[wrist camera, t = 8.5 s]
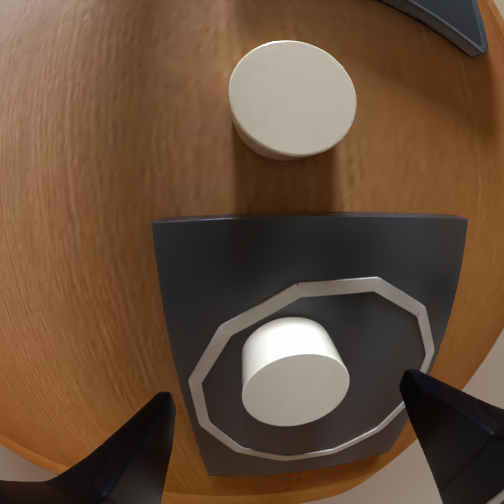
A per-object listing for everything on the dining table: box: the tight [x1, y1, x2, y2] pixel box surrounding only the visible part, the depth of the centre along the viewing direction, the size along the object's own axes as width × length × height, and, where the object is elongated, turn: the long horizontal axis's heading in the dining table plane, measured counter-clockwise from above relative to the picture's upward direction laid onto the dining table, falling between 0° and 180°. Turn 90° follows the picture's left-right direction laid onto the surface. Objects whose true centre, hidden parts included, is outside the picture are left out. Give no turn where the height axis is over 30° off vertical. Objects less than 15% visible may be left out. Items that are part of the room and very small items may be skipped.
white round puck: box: [241, 317, 349, 426], centre depth 10 cm, size 4×4×2 cm
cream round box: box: [228, 41, 357, 161], centre depth 8 cm, size 4×4×2 cm
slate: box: [152, 212, 467, 476], centre depth 12 cm, size 14×18×1 cm
